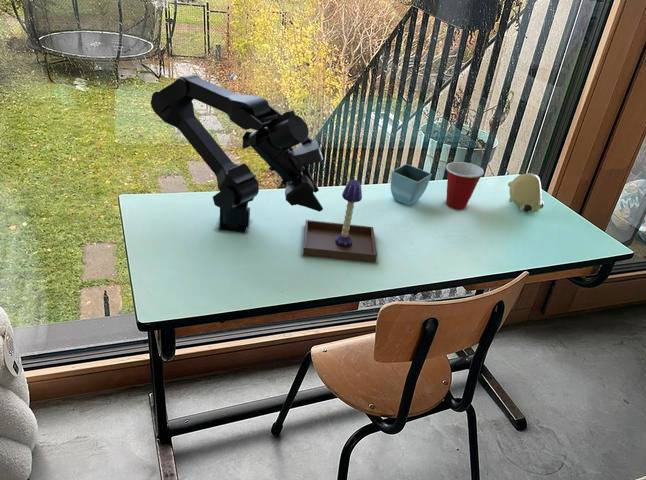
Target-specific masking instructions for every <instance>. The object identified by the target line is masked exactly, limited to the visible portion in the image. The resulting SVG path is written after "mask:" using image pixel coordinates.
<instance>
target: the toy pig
mask: <svg viewBox="0 0 646 480" xmlns="http://www.w3.org/2000/svg"><path fill="white" fill-rule="evenodd" d="M507 186H508V187H509V188H508V189H509V198H508V202H509V203H513V204H514V205H515V206H516V207H519V209H520V211H521V212H523V213H526V214H534V213H537V212H539V211H540V210H541V209H543V208H544V206H545V203H544V201H543V200H542V184H541V179H540V177H539V176H538V175H537V174H535V173H522V174H519V175H517V176H515V178H514V179H513V180H512V181H509V182H508V183H507Z"/></svg>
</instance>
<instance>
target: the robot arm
mask: <svg viewBox="0 0 646 480" xmlns="http://www.w3.org/2000/svg"><path fill="white" fill-rule="evenodd" d="M194 100H196V101H198V102H200V103H202V104H204V105H206V106H208V107H211V108H213V109H216V110H217V111H219V112H222V113H223V114H226V115H227V116H228V118H229V120H230V122H232V123H233V124H235V125H236V126H238V127H240V129H242V130H244V131H245V130H246V131H245V132H244V133H243V135H242V137H241V139H242V144H241V147H242V149H244V150H245V149H248V148H249V147H251V148H252V150H254V152H255V153H256V154H257V155H258V156H259V157H260V158H261V159H262V161H264V162H265V163H266V164H267V166H268V170H269V171H270V172H271V173H272V172H275V174H277V176H279V177H280V182H281V184H282V185H286V184H287V183H289V184H288V185H287V186H286V187H285V188H284V197H285V201H286V202H287V203H288V204H289V205H290V206H292V207H293V206H297V205H298V206H301V207H305V208H307V209H310V210H313V211H316V212H319V213H320V212H322V211H323V210H324V207H323V206H322V204H321V202H320V201H319V199H318V198H317V196H316V195H315V194H316V193H318V192H319V190H320V189H319V188H318V185H317V183H316V182H315V181H314V179H313V176H312V174H311V172H310V171H309V166H310V165H312V164H316V163H321V162H322V161H323V160H324V157H323V153H322V150H321V147H320V145H319V141H318V140H316V139H315V138H311V137H310V130H309V127H308V123H307V122H305V120H304V119H303V118H302V117H300V116H299V115H298V114H296V112H295V110H293V109H291V110H287V111H285V112H283V113H280V112H279V111H278V110H276V109H275V107H273V106H272V105H270V104H269V101H268V100H267V99H265V98H264V97H262V96H257V95H252V94H239V93H235V92H234V91H230V90H228V89H226V88H224V87H221V86H220V85H217V84H215V83H213V82H210V81H207V80H205V79H203V78H201V77H200V76H199V75H197V74H194V73H193V74H188V75H183V76H180V77H178V78H176V80H174V81H173V82H172V83H171V84H168V85H167V86H166V87H164V88H162V89H160V90H157V91H154V92H153V93H152V95H151V99H150V106H151V109H152V111H153V112H154V113H155V114H156V116H158V117H159V118H160V120H162V121H163V122H164V123H166V124H168V125H170V126H171V127H174V128H176V129H177V130H179V132H180V133H181V134H182V136H183V137H184V138H185V139H186V141H188V143H189V144H190V146H191V147H192V148H193V149H194V150H195V152H196V153H197V154H198V155H199V157H200V158H201V159H202V161H204V163H205V164H206V165H207V166H208V168H209V169H210V170H211V171H212V172H213V174H214V175H215V177H216V181H217V182H216V184H217V189H218V193H216V194H215V195H213V196H212V201H213V203H214V206H215V207H217V208H219V223H218V226H217V227H218V231H223V232H224V231H225V232H232V233H244V234H245V233H246V232H247V228H248V227H250V220H251V207H250V206H249V203H250V202H253V201H254V200H255V197H257V196H258V194H259V190H260V184H259V180H257V178H256V177H257V175H256V174H255V173H254V172H252V171H251V169H250V168H249V165H248V164H246V163H244V162H243V163H241V164H237V163H234V162H233V160H231V158H230V157H229V156H228V154H227V153H226V152H225V151H224V149H222V147H221V146H220V145H219V144H218V142H217V141H216V140H215V138H213V136H212V135H211V134H210V133H209V131H208V130H207V128H206V127H204V125H203V123H201V121H200V120H199V119H198V118H197V116H196V114H195V113H196V112H195V105H194V103H193V101H194ZM247 130H253V131H247Z"/></svg>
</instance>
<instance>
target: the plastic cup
mask: <svg viewBox="0 0 646 480" xmlns="http://www.w3.org/2000/svg"><path fill="white" fill-rule="evenodd" d="M445 169H446V173H447V182H446V183H447V184H446V198H445V200H446V203H445V204H446V206H448V207H449V208H451V209H453V210H459V211H460V210H461V211H462V210H465V208H466V207H467V206H468V203H469V201H470V199H471V198H472V196H473V193H474V191H475V189H476V187H477V185H478V183H479V181H480V180H481V177H482V176H483V175H484V173H485V171H484V169H483V168H482V167H481V166H479V165H476V164H475V163H470V162H463V161H452V162H449V163H447V164H446V165H445Z"/></svg>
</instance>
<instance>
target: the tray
mask: <svg viewBox="0 0 646 480" xmlns="http://www.w3.org/2000/svg"><path fill="white" fill-rule="evenodd" d="M343 225H344V223H341V222H340V223H339V222H330V221H320V220H311V219H305V223H304V235H303V251H302V256H303V257H310V258H320V259H331V260H340V261H351V262H360V263H370V264H376V263H377V257H378V253H377V246H376V237H375V230H374V226H369V225H368V226H367V225H358V224H350V229H349V231H348V233H349V234H348V236H350V237H351V239H352V245H351V246H349V247H342V246H339V245H337V244H336V242H335V239H336V238H337V236H339V235H341V233H342V231H343V229H342V228H343Z"/></svg>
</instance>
